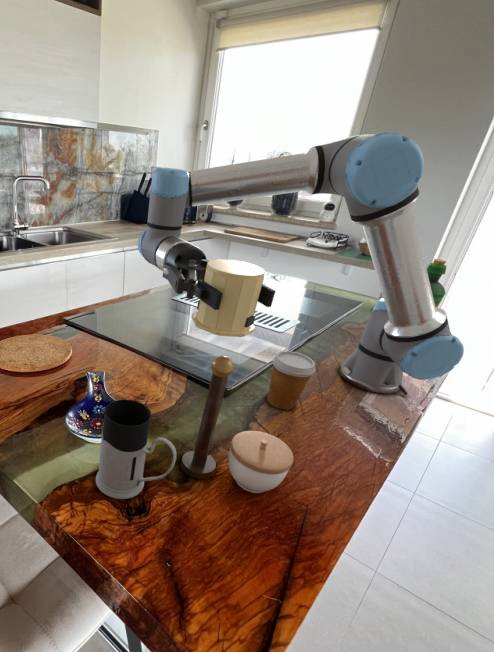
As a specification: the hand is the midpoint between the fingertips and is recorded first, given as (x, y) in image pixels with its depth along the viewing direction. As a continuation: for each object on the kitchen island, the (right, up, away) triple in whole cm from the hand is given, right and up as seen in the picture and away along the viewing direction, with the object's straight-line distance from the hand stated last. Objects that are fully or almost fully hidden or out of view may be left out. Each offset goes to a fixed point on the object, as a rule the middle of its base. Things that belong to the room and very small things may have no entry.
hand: (245, 300), depth 66 cm
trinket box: (+4, -31, +11) cm, 34 cm away
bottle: (+76, +1, +76) cm, 108 cm away
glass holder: (-18, -32, +7) cm, 37 cm away
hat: (-2, -3, +7) cm, 7 cm away
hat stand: (-5, -29, +13) cm, 32 cm away
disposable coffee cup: (+20, -18, +36) cm, 45 cm away
